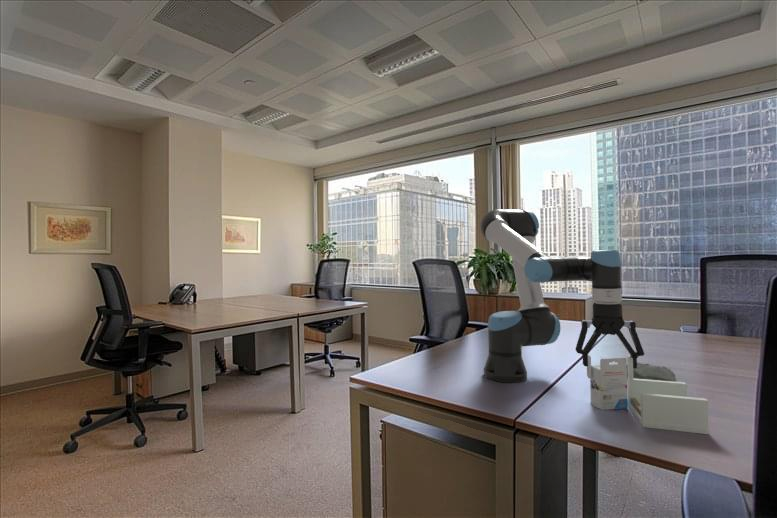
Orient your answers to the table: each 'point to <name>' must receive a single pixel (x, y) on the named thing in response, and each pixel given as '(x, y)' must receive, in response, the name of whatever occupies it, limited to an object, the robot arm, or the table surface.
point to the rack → (667, 406)
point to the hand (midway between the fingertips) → (609, 378)
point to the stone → (652, 373)
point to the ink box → (609, 384)
